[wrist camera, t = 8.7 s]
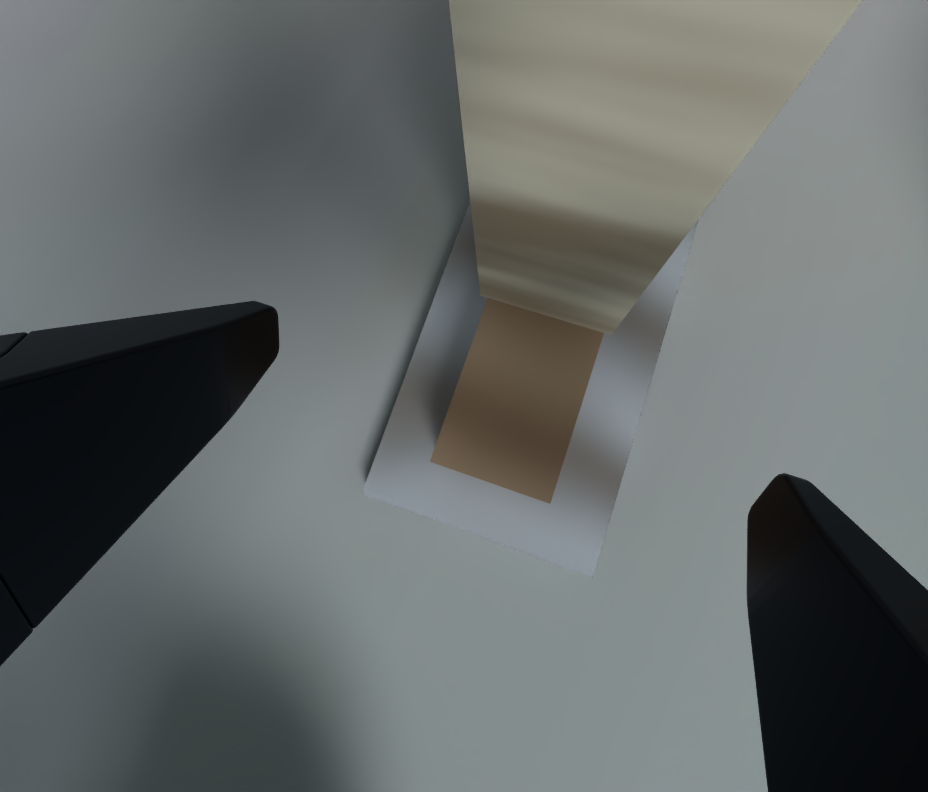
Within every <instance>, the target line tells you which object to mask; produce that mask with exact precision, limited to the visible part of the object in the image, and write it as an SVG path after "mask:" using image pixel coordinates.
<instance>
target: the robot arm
mask: <svg viewBox="0 0 928 792" xmlns="http://www.w3.org/2000/svg"><path fill="white" fill-rule="evenodd" d="M278 351H279V326H278V313H277V311H276V309H275V308H274V307H272V306H269V305H266V304H263V303H260V302H257V301H249V302H242V303H234V304H227V305H220V306H213V307H205V308H198V309H191V310H183V311H176V312H169V313H162V314H154V315H147V316H140V317H132V318H125V319H118V320H111V321H103V322H96V323H89V324H81V325H74V326H67V327H60V328H52V329H45V330H38V331H32V332H30V333H29V334H27V333H25V332H22V333H15V334H8V335H1V336H0V666H1V665H2V664H3V663H4V662H5V661H6V660H7V658H8V657H9V656H10V655H11V654H12V653H13V652H14V651H15V650H16V649H17V648H18V647H19V646H20V645H21V643H22V642H23V641H24V640H25V639H26V638H27V637H28V636H29V635H30V634H31V633H32V631H33V629H32V628H36V627H37V626H38V625H39V624H40V623H41V622H42V620H43V619H44V618H45V617H46V616H47V615H48V614H49V613H50V612H51V611H52V610H53V609H54V608H55V607H56V605H57V604H58V603H59V602H60V601H61V600H62V599H63V598H64V597H65V596H66V595H67V594H68V593H69V591H70V590H71V589H72V588H73V587H74V586H75V585H76V584H77V583H78V582H79V581H80V580H81V579H82V578H83V576H84V575H85V574H86V573H87V572H88V571H89V570H90V569H91V568H92V567H93V566H94V565H95V564H96V563H97V561H98V560H99V559H100V558H101V557H102V556H103V555H104V554H105V553H106V552H107V551H108V550H109V549H110V548H111V546H112V545H113V544H114V543H115V542H116V541H117V540H118V539H119V538H120V537H121V536H122V535H123V534H124V533H125V531H126V530H127V529H128V528H129V527H130V526H131V525H132V524H133V523H134V522H135V521H136V520H137V519H138V518H139V516H140V515H141V514H142V513H143V512H144V511H145V510H146V509H147V508H148V507H149V506H150V505H151V504H152V503H153V501H154V500H155V499H156V498H157V497H158V496H159V495H160V494H161V493H162V492H163V491H164V490H165V489H166V488H167V486H168V485H169V484H170V483H171V482H172V481H173V480H174V479H175V478H176V477H177V476H178V475H179V474H180V473H181V471H182V470H183V469H184V468H185V467H186V466H187V465H188V464H189V463H190V462H191V461H192V460H193V459H194V458H195V456H196V455H197V454H198V453H199V452H200V451H201V450H202V449H203V448H204V447H205V446H206V445H207V444H208V442H209V441H210V440H211V439H212V438H213V437H214V436H215V435H216V434H217V433H218V432H219V431H220V430H221V429H222V427H223V426H224V425H225V424H226V423H227V422H228V421H229V420H230V418H231V417H232V416H233V415H234V414H235V412H236V411H237V410H238V409H239V407H240V406H241V405H242V403H243V402H244V401H245V399H246V398H247V397H248V395H249V394H250V393H251V391H252V390H253V388H254V387H255V386H256V384H257V383H258V382H259V380H260V379H261V378H262V376H263V375H264V374H265V372H266V371H267V370H268V368H269V367H270V366H271V364H272V363H273V361H274V360H275V358H276V357H277V354H278ZM747 607H748V618H749V627H750V636H751V645H752V653H753V662H754V671H755V680H756V689H757V698H758V707H759V716H760V724H761V733H762V742H763V751H764V760H765V769H766V778H767V786H768V792H928V590H927V589H926V588H925V587H924V586H922V585H921V584H920V583H919V582H918V581H917V580H916V579H915V578H914V577H913V576H912V575H911V574H909V573H908V572H907V571H906V570H905V569H904V568H903V567H902V566H901V565H900V564H899V563H898V562H896V561H895V560H894V559H893V558H892V557H891V556H890V555H889V554H888V553H887V552H886V551H885V550H883V549H882V548H881V547H880V546H879V545H878V544H877V543H876V542H875V541H874V540H873V539H872V538H870V537H869V536H868V535H867V534H866V533H865V532H864V531H863V530H862V529H861V528H860V527H859V526H857V525H856V524H855V523H854V522H853V521H852V520H851V519H850V518H849V517H848V516H847V515H846V514H844V513H843V512H842V511H841V510H840V509H839V508H838V507H837V506H836V505H835V504H834V503H833V502H832V501H830V500H829V499H828V498H827V497H826V496H825V495H824V494H823V493H822V492H821V491H820V490H819V489H817V488H816V487H815V486H814V485H813V484H812V483H811V482H809V481H807V480H805V479H801V478H798V477H795V476H792V475H789V474H785V473H783V474H779V475H777V476H776V477H775V478H774V479H773V480H772V481H771V482H770V484H769V485H768V486H767V488H766V489H765V490H764V491H763V493H762V494H761V495H760V496H759V498H758V499H757V500H756V501H755V503H754V504H753V505H752V507H751V509H750V511H749V514H748V528H747Z"/></svg>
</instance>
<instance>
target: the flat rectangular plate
mask: <svg viewBox="0 0 928 792" xmlns="http://www.w3.org/2000/svg"><path fill="white" fill-rule="evenodd" d="M698 220H699V219H698ZM697 223H698V221H697V222H696V223H695V224H694V226H693V227H692V228H691V230H690V231H689V232H688V234H687V235H686V236H685V238H684V239H683V240H682V242H681V243H680V244H679V246H678V247H677V248H676V250H675V251H674V252H673V254H672V255H671V256H670V258H669V259H668V260H667V262H666V263H665V264H664V266H663V267H662V268H661V270H660V271H659V272H658V274H657V275H656V276H655V278H654V279H653V280H652V282H651V283H650V284H649V286H648V287H647V288H646V290H645V291H644V292H643V294H642V295H641V296H640V298H639V299H638V300H637V302H636V303H635V304H634V306H633V307H632V308H631V310H630V311H629V312H628V314H627V315H626V316H625V318H624V319H623V320H622V322H621V323H620V324H619V326H618V327H617V328H616V330H615V331H614V332H613V334H612V335H609V334H605V333H602V332H599V331H596V330H592V329H589V328H586V327H582V326H579V325H576V324H573V323H569V322H566V321H563V320H559V319H556V318H553V317H549V316H546V315H543V314H540V313H536V312H533V311H530V310H526V309H523V308H520V307H517V306H513V305H510V304H507V303H503V302H500V301H497V300H494V299H490V298H487V297H484V296H480V287H479V277H478V268H477V259H476V249H475V240H474V231H473V222H472V212H471V203H470V202H469V205H468V208H467V210H466V213H465V216H464V218H463V221H462V224H461V226H460V229H459V232H458V235H457V237H456V240H455V243H454V245H453V248H452V251H451V253H450V256H449V259H448V262H447V264H446V267H445V270H444V272H443V275H442V278H441V280H440V283H439V286H438V289H437V291H436V294H435V297H434V299H433V302H432V305H431V308H430V310H429V313H428V316H427V318H426V321H425V324H424V326H423V329H422V332H421V335H420V337H419V340H418V343H417V345H416V348H415V351H414V353H413V356H412V359H411V362H410V364H409V367H408V370H407V372H406V375H405V378H404V380H403V383H402V386H401V389H400V391H399V394H398V397H397V399H396V402H395V405H394V407H393V410H392V413H391V416H390V418H389V421H388V424H387V426H386V429H385V432H384V434H383V437H382V440H381V443H380V445H379V448H378V451H377V453H376V456H375V459H374V462H373V464H372V467H371V470H370V472H369V475H368V478H367V480H366V483H365V486H364V489H363V491H362V494H364V495H367V496H370V497H372V498H375V499H378V500H381V501H383V502H386V503H389V504H391V505H394V506H397V507H400V508H402V509H405V510H408V511H411V512H413V513H416V514H419V515H421V516H424V517H427V518H430V519H432V520H435V521H438V522H441V523H443V524H446V525H449V526H451V527H454V528H457V529H460V530H462V531H465V532H468V533H471V534H473V535H476V536H479V537H482V538H484V539H487V540H490V541H492V542H495V543H498V544H501V545H503V546H506V547H509V548H512V549H514V550H517V551H520V552H522V553H525V554H528V555H531V556H533V557H536V558H539V559H542V560H544V561H547V562H550V563H552V564H555V565H558V566H561V567H563V568H566V569H569V570H572V571H574V572H577V573H580V574H582V575H585V576H588V577H591V578H593V575H594V571H595V568H596V565H597V561H598V558H599V554H600V551H601V548H602V544H603V541H604V538H605V534H606V531H607V527H608V524H609V521H610V517H611V514H612V510H613V507H614V504H615V500H616V497H617V494H618V490H619V487H620V483H621V480H622V477H623V473H624V470H625V467H626V463H627V460H628V456H629V453H630V450H631V446H632V443H633V440H634V436H635V433H636V429H637V426H638V423H639V419H640V416H641V412H642V409H643V406H644V402H645V399H646V396H647V392H648V389H649V385H650V382H651V379H652V375H653V372H654V369H655V365H656V362H657V358H658V355H659V352H660V348H661V345H662V341H663V338H664V335H665V331H666V328H667V325H668V321H669V318H670V314H671V311H672V308H673V304H674V301H675V298H676V294H677V291H678V287H679V284H680V281H681V277H682V274H683V271H684V267H685V264H686V260H687V257H688V254H689V250H690V247H691V243H692V240H693V237H694V233H695V230H696V227H697Z"/></svg>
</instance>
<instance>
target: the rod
mask: <svg viewBox="0 0 928 792" xmlns="http://www.w3.org/2000/svg"><path fill="white" fill-rule="evenodd" d="M862 1H863V0H449V7H450V17H451V26H452V35H453V45H454V54H455V63H456V73H457V82H458V91H459V100H460V110H461V119H462V128H463V138H464V147H465V156H466V166H467V175H468V184H469V194H470V203H471V212H472V222H473V231H474V240H475V249H476V259H477V268H478V277H479V287H480V296H484V297H487V298H490V299H494V300H497V301H500V302H503V303H507V304H510V305H513V306H517V307H520V308H523V309H526V310H530V311H533V312H536V313H540V314H543V315H546V316H549V317H553V318H556V319H559V320H563V321H566V322H569V323H573V324H576V325H579V326H582V327H586V328H589V329H592V330H596V331H599V332H602V333H605V334H609V335H612V334H613V332H614V331H615V330H616V328H617V327H618V326H619V324H620V323H621V322H622V320H623V319H624V318H625V316H626V315H627V314H628V312H629V311H630V310H631V308H632V307H633V306H634V304H635V303H636V302H637V300H638V299H639V298H640V296H641V295H642V294H643V292H644V291H645V290H646V288H647V287H648V286H649V284H650V283H651V282H652V280H653V279H654V278H655V276H656V275H657V274H658V272H659V271H660V270H661V268H662V267H663V266H664V264H665V263H666V262H667V260H668V259H669V258H670V256H671V255H672V254H673V252H674V251H675V250H676V248H677V247H678V246H679V244H680V243H681V242H682V240H683V239H684V238H685V236H686V235H687V234H688V232H689V231H690V230H691V228H692V227H693V226H694V224H695V223H696V222H697V221H698V219H699V218H700V217H701V215H702V214H703V213H704V211H705V210H706V209H707V207H708V206H709V205H710V203H711V202H712V201H713V199H714V198H715V197H716V195H717V194H718V193H719V191H720V190H721V189H722V187H723V186H724V185H725V183H726V182H727V181H728V179H729V178H730V177H731V175H732V174H733V173H734V171H735V170H736V169H737V167H738V166H739V165H740V163H741V162H742V161H743V159H744V158H745V157H746V155H747V154H748V153H749V151H750V150H751V149H752V147H753V146H754V145H755V143H756V142H757V141H758V139H759V138H760V137H761V135H762V134H763V133H764V131H765V130H766V129H767V127H768V126H769V125H770V123H771V122H772V121H773V119H774V118H775V117H776V115H777V114H778V113H779V111H780V110H781V109H782V107H783V106H784V105H785V103H786V102H787V101H788V99H789V98H790V97H791V95H792V94H793V93H794V91H795V90H796V89H797V87H798V86H799V85H800V83H801V82H802V81H803V79H804V78H805V77H806V75H807V74H808V73H809V71H810V70H811V69H812V67H813V66H814V65H815V63H816V62H817V61H818V59H819V58H820V57H821V55H822V54H823V53H824V51H825V50H826V49H827V48H828V46H829V45H830V44H831V42H832V41H833V40H834V38H835V37H836V36H837V34H838V33H839V32H840V30H841V29H842V28H843V26H844V25H845V24H846V22H847V21H848V20H849V18H850V17H851V16H852V14H853V13H854V12H855V10H856V9H857V8H858V6H859V5H860V4H861V2H862Z"/></svg>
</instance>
